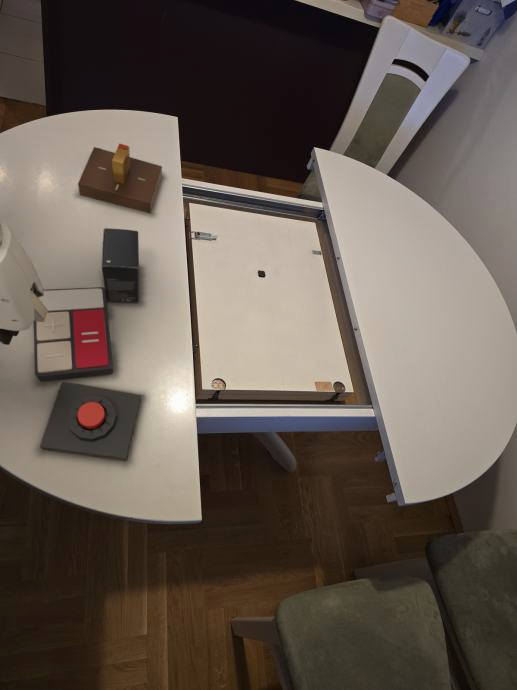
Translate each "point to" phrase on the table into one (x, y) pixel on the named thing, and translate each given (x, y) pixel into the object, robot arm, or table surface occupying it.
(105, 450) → the bell block
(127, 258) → the box
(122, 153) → the lock knob
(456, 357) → the table surface
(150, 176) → the plate
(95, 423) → the bell button
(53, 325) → the calculator
